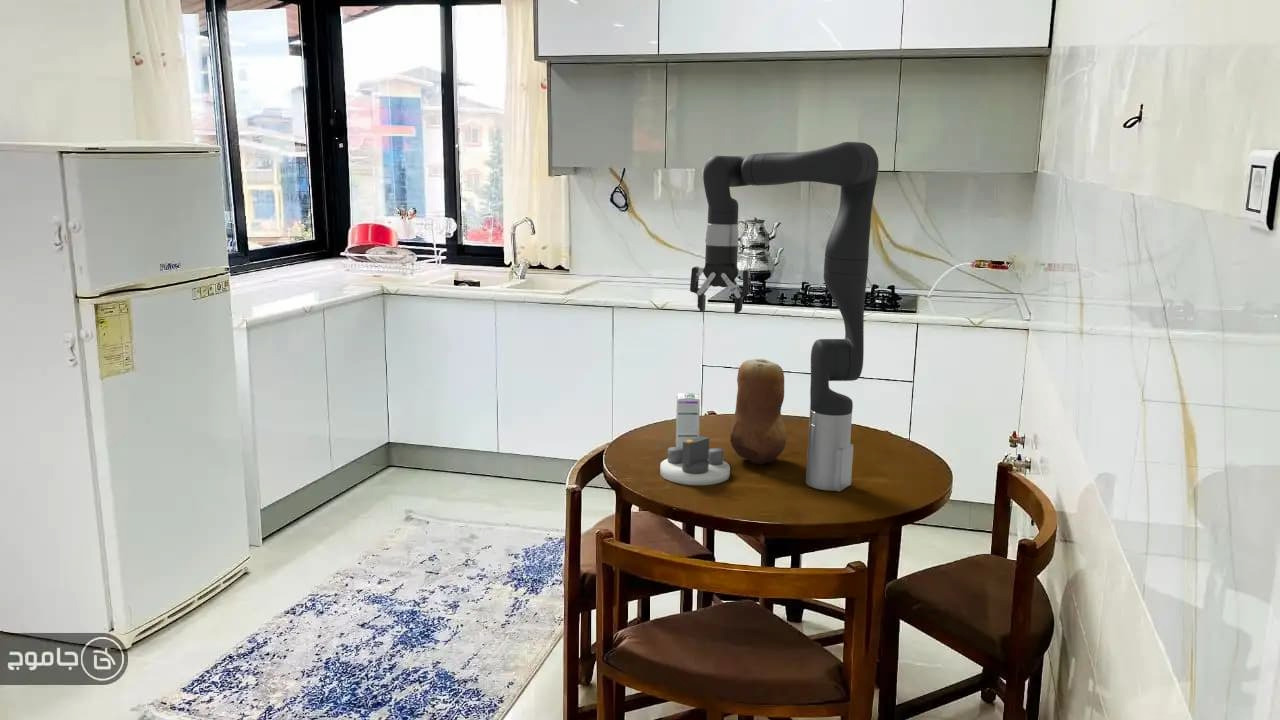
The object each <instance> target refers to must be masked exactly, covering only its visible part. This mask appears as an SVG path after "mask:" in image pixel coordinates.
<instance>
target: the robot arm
mask: <svg viewBox="0 0 1280 720" xmlns="http://www.w3.org/2000/svg"><path fill="white" fill-rule="evenodd" d="M879 163H880V162H879V157H878V154H877V152H876V150H875V149H874V148H873V147H872V146H871V145H870V144H868V143H866V142H861V141H859V142H857V141H845V142H841V143H837V144H833V145H831V146H826V147H823V148H818V149H813V150H808V151H799V152H781V151H780V152H766V153H765V152H764V153H763V152H762V153H754V154H749V155H741V156H740V155H739V156H738V155H736V156H735V155H732V156H731V155H713V156H711V157H710V158H708V160H707V161H706V162H705V164H704V168H703V172H702V180H703V186H704V192H705V197H706V201H707V205H708V206H707V207H708V209H707V224H706V225H707V226H706V233H705V234H706V235H705V241H704V242H705V259H704V260H705V261H704V263H705V264H704V267H700V266H698V265H697V266H693V267H692V268H691V275H690V286H689V291H690V293H694V294H696V295H697V304H696V305H697V309H699V311H700V312H705V310H706V301H707V300H706V298H707V297H706V294H705V293H706V292H707V291H708V290H709V289H710V288H711V287H716V288H717V287H721V288H727V287H728V288H729V289H730V291H731V292H732V293H733V294H734V296H735V298H734V308H733V309H734V315H735V314H736V315H738V314H740V312H741V311H743V301H744V299H743V298H744V297H747V296H750V295H751V294H752V282H751V281H752V280H751V275H752V274H751V269H748V268H747V269H743V270H742V269H739V267H738V260H739V258H738V257H739V255H738V254H739V253H738V251H739V224H738V223H739V203H738V200H737V199H735V198H733V197H732V195H731V190H730V188H735V187H737V188H738V187H746V186H775V185H786V184H791V183H792V184H793V183H800V182H801V183H802V182H803V183H804V182H806V183H807V182H811V183H822V184H829V185H835V186H838V187H840V199H839V207H838V213H837V216H836V218H835V221H834V224H833V226H832V229H831V231H830V234H829V237H828V238H827V242H826V246H825V252H824V264H823V281H824V284H825V287H826V289H827V291H828V292H829V294H830V296H831V297H832V300H833V301H834V302H835V305H836V306H837V308H838V309H839V311H840V314H841V317H842V320H843V322H844V323H843V324H844V331H845V334H844V335H845V337H844V338H820V339H816V340H815V341H814V342H813V344H812V347H811V351H810V352H811V353H810V388H809V389H810V391H809V395H810V397H809V400H810V404H809V405H810V406H809V420H808V421H809V422H808V423H809V424H808V425H809V426H808V441H807V457H806V473H805V475H806V476H805V483H806V485H807V486H809V488H810V487H811V488H813V489H816V490H821V491H836V492H841V491H843V490H844V489H846V488H848V487H850V486H851V484H852V475H853V462H854V461H853V460H854V444H852V443H851V434H852V421H853V418H852V417H853V409H854V405H853V399H852V398H850V397H849V396H847V395H845V394H842V393H840V392H836V391H834V390H832V389H831V388H830V384H829V383H830V382H849V381H850V382H853V381H857V380H858V379H860V377H861V375H862V373H863V367H864V353H865V352H864V347H865V346H864V345H865V344H864V342H865V341H864V339H865V338H864V335H865V333H864V332H865V331H864V329H865V328H864V324H865V321H864V318H865V315H864V314H865V313H864V312H865V300H866V290H867V289H866V288H867V282H868V281H867V279H868V269H869V257H870V254H869V253H870V252H869V250H870V237H871V226H872V224H871V222H872V219H871V218H872V210H873V204H874V196H875V192H876V185H877V180H878V174H879V167H880V166H879ZM702 274H703V275H704V277H705V278H706V279H705V281H704V282H703V283H702V285H701V286H700V288H699V282H700V281H699V280H700V277H701V276H702ZM738 276H739V277H740V279H741V280H742V289H741V288H740V285H739V284H738V282H737V281H736V279H737V277H738Z"/></svg>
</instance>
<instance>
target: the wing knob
mask: <svg viewBox="0 0 1280 720" xmlns="http://www.w3.org/2000/svg"><path fill="white" fill-rule="evenodd" d="M709 449H710V437H706V436H704V435H702V436H699V437H698V438H695V439H692V440H687V441H685V442H683V456H682V470H683V471H684V472H686V473H691V474H702V473H706V472H708V467H709V461H708V460H707V459H708V456H709Z"/></svg>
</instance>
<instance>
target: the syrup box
mask: <svg viewBox="0 0 1280 720" xmlns="http://www.w3.org/2000/svg"><path fill="white" fill-rule="evenodd" d="M700 406H701V405H700V394H699V393H691V392H688V393H687V392H686V393H685V392H683V393H677V394H676V405H675V407H676V409H675V410H676V411H675V412H676V414H675V415H676V417H675V423H676V424H675V447H680V448H683V442H685V441H687V440H692V439H695V438H698V437H700V427H701V426H700V423H701V422H700V421H701V420H700V418H701V417H700V416H701V415H700V413H701V411H700Z"/></svg>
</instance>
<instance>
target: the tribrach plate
mask: <svg viewBox="0 0 1280 720" xmlns="http://www.w3.org/2000/svg"><path fill="white" fill-rule="evenodd" d="M682 456H683V448H680V447H676V446H672V447H668V448H667V458H666V459H664V460H662V461H661V462H660V470H659V471H660V472H659V474H660V476H661V478H663V479H664V480H666V481H669V482H672V483H676V484H680V485H689V486H707V485H708V486H711V485H717V484H720V483H721V484H722V483H723V482H726V481H727V480H729V478H730V473H731V467H730V465H729V463H728V462H726V461H724V449H722V448H717V447H715V448H714V447H713V448H712V447H711V448H709V456H708V459H707V460H708V461H709V467H708V472H706V473H702V474H691V473H686V472H684V471H683V470H682Z"/></svg>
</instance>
